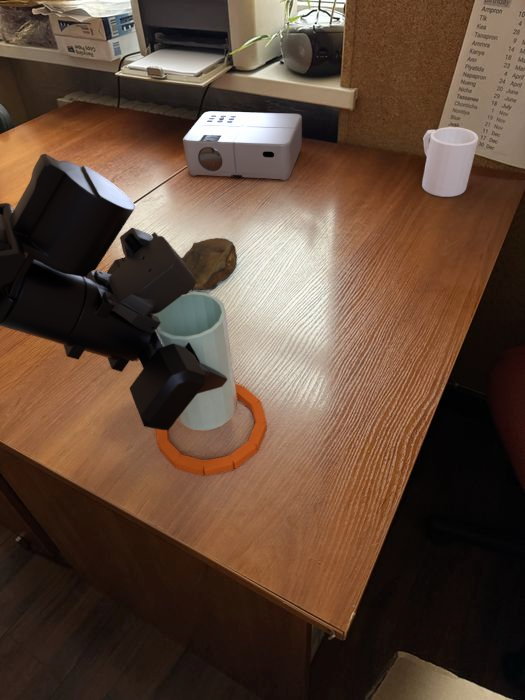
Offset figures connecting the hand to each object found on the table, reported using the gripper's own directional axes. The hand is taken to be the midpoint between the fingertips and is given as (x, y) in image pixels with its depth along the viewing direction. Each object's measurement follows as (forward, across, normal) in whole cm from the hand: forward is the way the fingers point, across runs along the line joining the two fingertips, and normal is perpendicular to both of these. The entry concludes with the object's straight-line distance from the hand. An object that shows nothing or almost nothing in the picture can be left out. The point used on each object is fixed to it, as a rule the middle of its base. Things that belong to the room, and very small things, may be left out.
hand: (210, 358), depth 51 cm
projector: (+30, +63, -15) cm, 71 cm away
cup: (+4, 0, +6) cm, 7 cm away
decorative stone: (+14, +29, +1) cm, 33 cm away
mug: (+50, +34, -35) cm, 70 cm away
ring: (+7, 0, +8) cm, 11 cm away
